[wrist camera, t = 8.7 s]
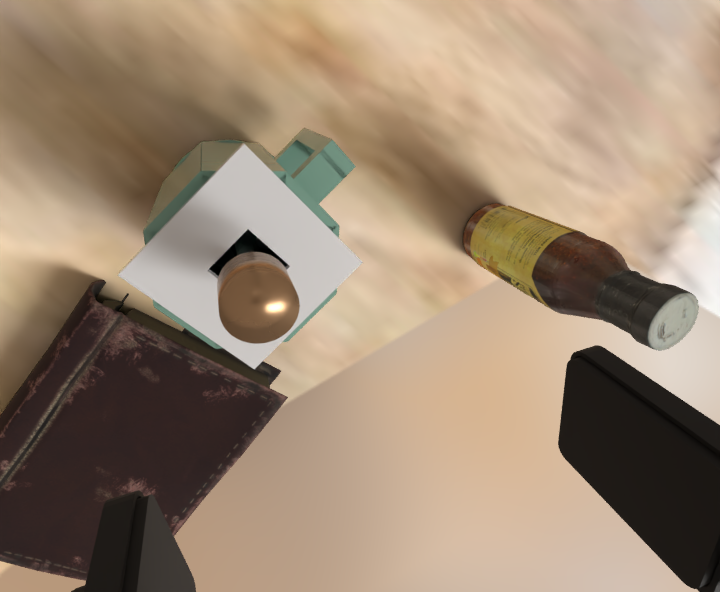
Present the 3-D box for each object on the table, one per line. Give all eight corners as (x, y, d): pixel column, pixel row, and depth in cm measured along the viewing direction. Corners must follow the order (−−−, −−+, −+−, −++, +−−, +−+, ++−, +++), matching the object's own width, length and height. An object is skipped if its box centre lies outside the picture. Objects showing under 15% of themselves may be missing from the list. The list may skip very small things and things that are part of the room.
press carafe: (136, 206, 34) (98, 276, 22) (255, 80, 33) (287, 78, 21) (237, 286, 39) (254, 381, 27) (344, 179, 38) (413, 225, 26)
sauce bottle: (453, 261, 45) (609, 370, 28) (468, 197, 43) (649, 274, 25) (508, 263, 47) (685, 367, 30) (526, 203, 45) (728, 278, 28)
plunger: (160, 220, 31) (129, 319, 18) (232, 144, 31) (256, 189, 18) (240, 284, 35) (263, 405, 22) (307, 217, 34) (372, 299, 21)
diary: (-56, 496, 40) (-89, 546, 35) (97, 272, 36) (81, 297, 32) (147, 548, 48) (140, 594, 44) (287, 371, 45) (295, 402, 40)
